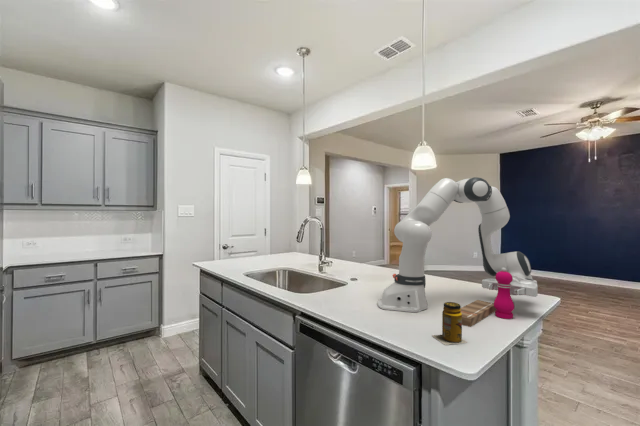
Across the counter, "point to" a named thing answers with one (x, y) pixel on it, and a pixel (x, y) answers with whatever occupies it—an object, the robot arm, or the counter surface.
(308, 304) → the counter surface
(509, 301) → the pepper mill
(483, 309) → the board
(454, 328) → the condiment
